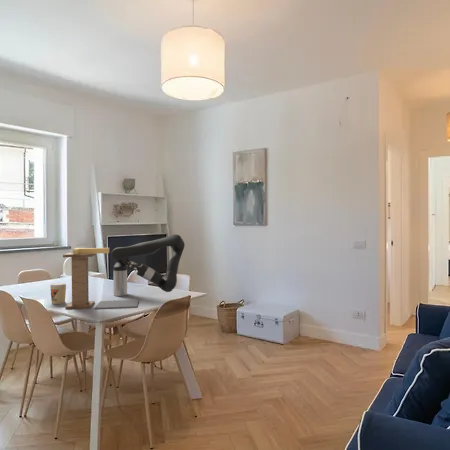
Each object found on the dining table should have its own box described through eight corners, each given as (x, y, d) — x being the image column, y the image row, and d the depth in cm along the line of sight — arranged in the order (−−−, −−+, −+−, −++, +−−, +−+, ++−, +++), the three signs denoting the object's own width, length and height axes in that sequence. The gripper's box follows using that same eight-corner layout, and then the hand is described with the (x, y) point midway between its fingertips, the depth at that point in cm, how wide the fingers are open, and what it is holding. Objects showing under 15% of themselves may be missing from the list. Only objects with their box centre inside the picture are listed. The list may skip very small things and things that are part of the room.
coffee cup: (47, 303, 246) (47, 284, 246) (60, 300, 254) (60, 282, 254) (56, 305, 241) (55, 285, 241) (69, 302, 249) (69, 283, 249)
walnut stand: (69, 304, 243) (68, 252, 242) (96, 303, 245) (95, 252, 245) (63, 309, 229) (63, 254, 229) (92, 308, 231) (91, 254, 231)
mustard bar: (76, 252, 241) (76, 248, 241) (110, 252, 244) (110, 247, 244) (72, 254, 231) (72, 249, 231) (107, 253, 234) (107, 248, 234)
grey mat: (100, 302, 249) (100, 300, 249) (138, 300, 252) (138, 299, 252) (94, 309, 229) (94, 307, 229) (136, 307, 232) (136, 306, 232)
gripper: (149, 265, 250) (126, 253, 248) (148, 268, 236) (124, 255, 234) (143, 276, 250) (120, 263, 247) (142, 279, 236) (118, 266, 233)
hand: (122, 259), depth 241 cm, fingers open, 8 cm apart
